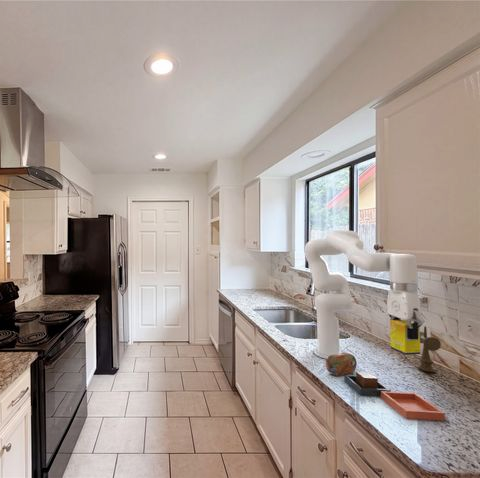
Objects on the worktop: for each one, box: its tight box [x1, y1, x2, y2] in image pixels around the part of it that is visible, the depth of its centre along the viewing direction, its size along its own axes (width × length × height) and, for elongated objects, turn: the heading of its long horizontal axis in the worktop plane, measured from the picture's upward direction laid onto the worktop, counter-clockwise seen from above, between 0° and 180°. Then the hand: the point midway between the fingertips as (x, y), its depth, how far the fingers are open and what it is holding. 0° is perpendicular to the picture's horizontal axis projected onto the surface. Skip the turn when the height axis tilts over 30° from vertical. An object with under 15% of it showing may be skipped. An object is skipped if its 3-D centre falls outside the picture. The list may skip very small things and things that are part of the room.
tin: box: [325, 352, 358, 377], centre depth 117 cm, size 15×3×8 cm, turn 105°
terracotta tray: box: [380, 391, 446, 422], centre depth 92 cm, size 12×12×2 cm
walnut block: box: [355, 371, 379, 389], centre depth 105 cm, size 5×5×5 cm
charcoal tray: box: [343, 374, 392, 397], centre depth 105 cm, size 11×11×2 cm
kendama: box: [417, 325, 442, 373], centre depth 119 cm, size 6×10×20 cm, turn 163°
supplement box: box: [389, 319, 421, 356], centre depth 98 cm, size 6×6×11 cm
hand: (404, 335), depth 98 cm, fingers closed on supplement box, 6 cm apart
